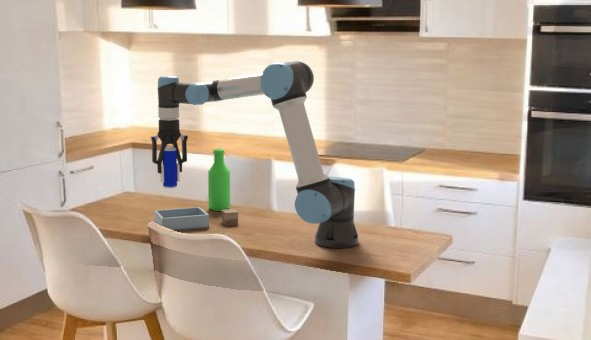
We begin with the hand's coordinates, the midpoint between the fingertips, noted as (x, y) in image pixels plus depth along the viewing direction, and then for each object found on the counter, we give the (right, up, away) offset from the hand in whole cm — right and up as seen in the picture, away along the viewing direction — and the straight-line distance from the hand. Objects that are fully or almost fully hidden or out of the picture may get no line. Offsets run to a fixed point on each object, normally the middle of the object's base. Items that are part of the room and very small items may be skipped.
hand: (170, 181), depth 277 cm
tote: (+4, -17, +5) cm, 18 cm away
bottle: (+15, -12, +32) cm, 37 cm away
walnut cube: (+21, -16, +9) cm, 28 cm away
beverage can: (0, -2, 0) cm, 2 cm away
